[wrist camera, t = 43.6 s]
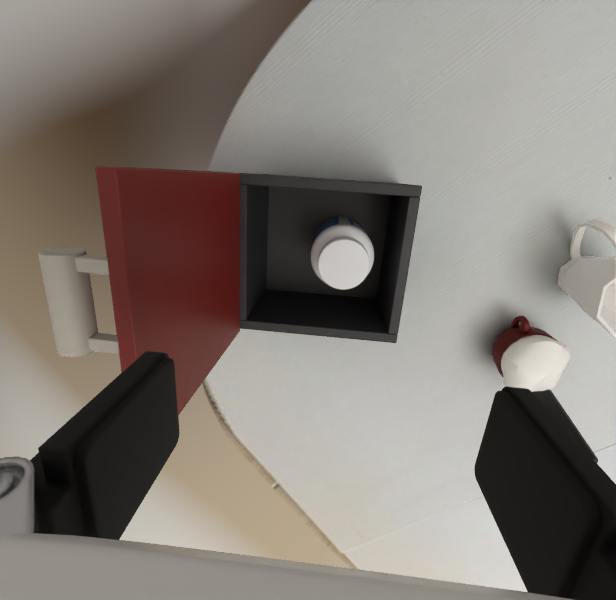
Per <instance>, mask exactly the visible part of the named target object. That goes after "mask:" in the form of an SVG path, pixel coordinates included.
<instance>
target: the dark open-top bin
mask: <svg viewBox="0 0 616 600" xmlns="http://www.w3.org/2000/svg"><path fill="white" fill-rule="evenodd" d="M239 174H240V328H242V329H253V330H264V331H274V332H285V333H296V334H306V335H317V336H327V337H338V338H349V339H359V340H370V341H381V342H391V343H396V341H397V334H398V328H399V322H400V316H401V310H402V304H403V298H404V292H405V286H406V280H407V274H408V268H409V262H410V256H411V250H412V244H413V238H414V232H415V226H416V220H417V214H418V208H419V202H420V195H421V189H422V186H419V185H409V184H398V183H383V182H369V181H355V180H340V179H326V178H311V177H297V176H282V175H268V174H249V173H239ZM334 217H348V218H351V219H353V220H355V221H356V222H358V223H359V224H360V225H361V226H362V227H363V229H364V230H365V232H366V233H367V235H368V237H369V239H370V240H371V243H372V245H373V249H374V262H373V266H372V268H371V270H370V272H369V274H368V275H367V276H366V278H365V279H364V280H363V281H362V282H361V283H360V284H359V285H357V286H356V287H354V288H351V289H345V290H341V289H336V288H333V287H331V286H329V285H328V284H327V283H325V282H323V281H322V280H321V279H320V278H319V277H318V276H317V275H316V273H315V272H314V270H313V267H312V264H311V248H312V245H313V241H314V238H315V235H316V232H317V230H318V229H319V228H320V226H321V225H322V224H323V223H324V222H326V221H327V220H329V219H331V218H334Z"/></svg>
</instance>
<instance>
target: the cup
mask: <svg viewBox="0 0 616 600" xmlns="http://www.w3.org/2000/svg"><path fill="white" fill-rule="evenodd" d="M587 226H588V227H591V228H594V229H596V230H598V231H600V232H602V233H603V234H604V235H605V236H606V237H607V238H608V239H609V240H610V241H611V242H612V243H613V245H614V247H615V253H616V228H615V227H613V226H611V225H609V224H607V223H605V222H602V221H599V220H595V219H594V220H590V221H587V222H584V223H582V224H579V225H578V226H577V228H576V229H575V231H574V234H573V236H572V240H571V244H570V256H571V260H569V261H568V262H567V263H566V264H564V265H563V266H562V267H561V268H560V270H559V275H558V280H557V285H558V286H559V287H560V288H561V289H562V290H563V291H564V292H565V293H566V294H567V295H569V296H570V297H571V298H572V299H573V300H574V301H575V302H576V303H577V304H578V305H579V306H580V307H581V309H582V310H583V311H584V312H586V313H587V314H588V315H589V316H590V317H592V318H593V319H594V320H595V321H596V322H598V323H599V324H600V325H601V326H602V327H603V328H604V329H606V330H607V331H608V332H609V333H610V334H611V335H613V336H614V337H615V338H616V257H603V258H596V257H595V256H581V254H580V244H581V240H582V237H583V234H584V231H585V229H586V228H587Z"/></svg>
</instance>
